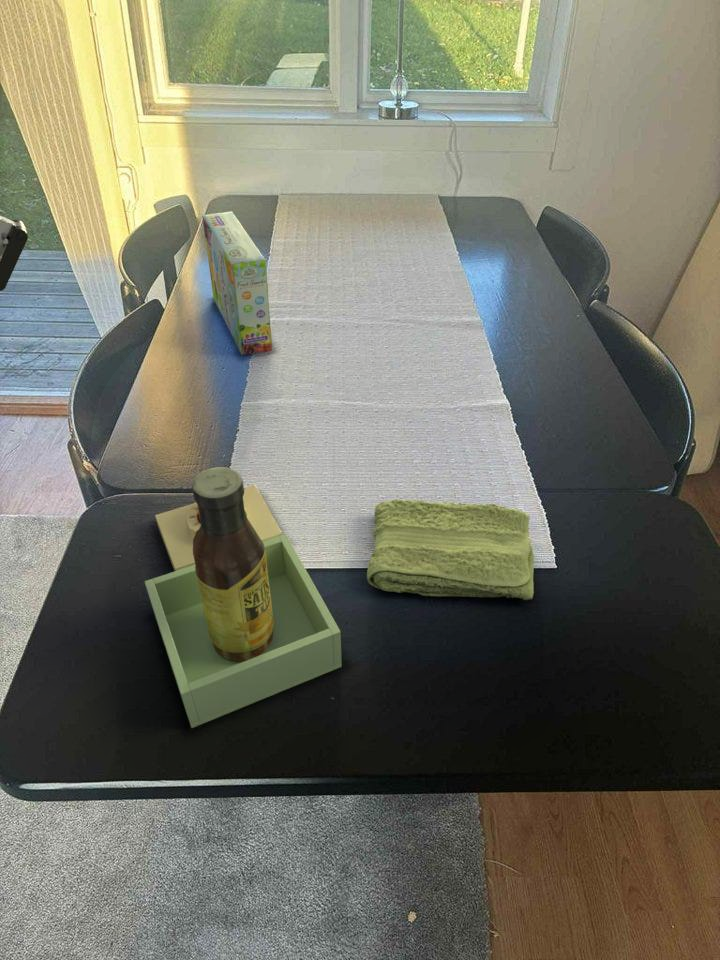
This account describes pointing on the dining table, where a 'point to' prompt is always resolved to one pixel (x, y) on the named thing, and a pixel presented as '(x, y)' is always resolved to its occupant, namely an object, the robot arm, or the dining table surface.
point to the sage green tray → (285, 663)
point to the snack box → (238, 282)
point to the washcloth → (451, 550)
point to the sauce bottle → (231, 568)
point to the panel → (185, 522)
